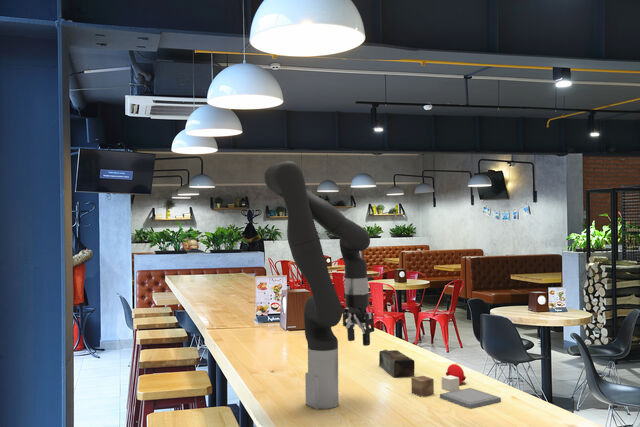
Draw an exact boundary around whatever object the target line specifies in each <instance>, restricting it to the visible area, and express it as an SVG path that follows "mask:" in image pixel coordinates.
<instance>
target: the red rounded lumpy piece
mask: <svg viewBox="0 0 640 427" xmlns="http://www.w3.org/2000/svg"><path fill="white" fill-rule="evenodd" d="M449 375H452V376H455V377H458V378H459V386H460V385H461V384H462V383H463V382H464V381H465V380H466V378H467V377H466V376H465V372H464V369H463V368H462V367H461V366H460V365H458V364H457V363H456V364H455V363H452V364H450V365H449V366H448V367H447V368H446V372H445V376H449Z"/></svg>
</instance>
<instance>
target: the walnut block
mask: <svg viewBox="0 0 640 427" xmlns="http://www.w3.org/2000/svg"><path fill="white" fill-rule="evenodd" d="M410 378H411V380H410V382H411V394H413V393H414V395H416V394H417V395H416V396H418V395H419V397H421V396H423V397H427V395H428V396H432V394H433V395H434V392H435V390H434V389H435V387H434V386H435V385H434V381H435V380H434V378H431V377H429V376H425V375H420V376H419V375H418V376H414V377H410Z"/></svg>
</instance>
